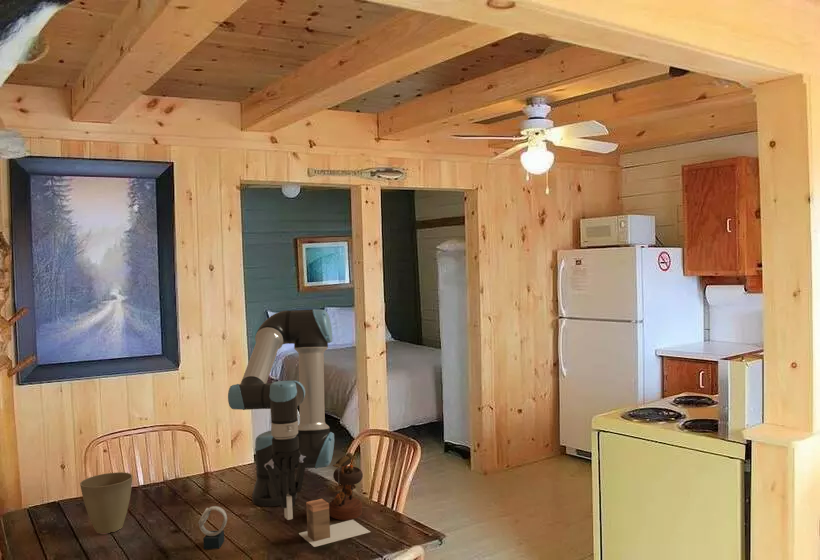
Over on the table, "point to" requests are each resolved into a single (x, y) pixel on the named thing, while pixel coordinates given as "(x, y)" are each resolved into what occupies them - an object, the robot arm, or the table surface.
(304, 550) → the table surface
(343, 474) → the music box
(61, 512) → the table surface
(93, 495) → the plant pot
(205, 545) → the watch
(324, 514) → the walnut block
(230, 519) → the table surface
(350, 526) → the mat
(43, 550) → the table surface
